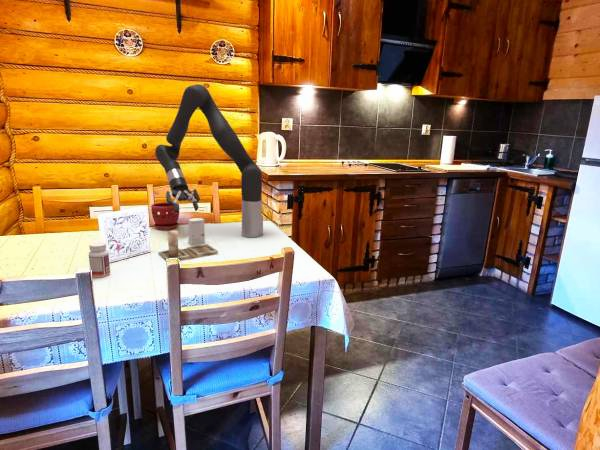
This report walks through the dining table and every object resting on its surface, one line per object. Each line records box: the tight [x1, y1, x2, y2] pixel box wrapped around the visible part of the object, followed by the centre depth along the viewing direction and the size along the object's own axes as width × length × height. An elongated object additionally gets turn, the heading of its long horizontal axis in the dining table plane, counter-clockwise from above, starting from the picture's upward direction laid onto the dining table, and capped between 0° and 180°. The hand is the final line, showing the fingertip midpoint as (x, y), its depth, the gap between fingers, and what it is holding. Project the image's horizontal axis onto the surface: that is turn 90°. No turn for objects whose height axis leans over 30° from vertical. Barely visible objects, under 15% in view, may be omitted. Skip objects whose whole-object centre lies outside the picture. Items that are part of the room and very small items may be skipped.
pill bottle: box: [88, 241, 111, 279], centre depth 141 cm, size 6×6×11 cm
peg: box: [167, 229, 179, 258], centre depth 159 cm, size 4×4×10 cm
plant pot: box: [150, 201, 180, 231], centre depth 201 cm, size 13×13×12 cm
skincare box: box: [187, 217, 206, 246], centre depth 175 cm, size 6×4×12 cm
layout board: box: [157, 243, 219, 262], centre depth 163 cm, size 21×13×2 cm, turn 127°
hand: (187, 210), depth 180 cm, fingers open, 8 cm apart
